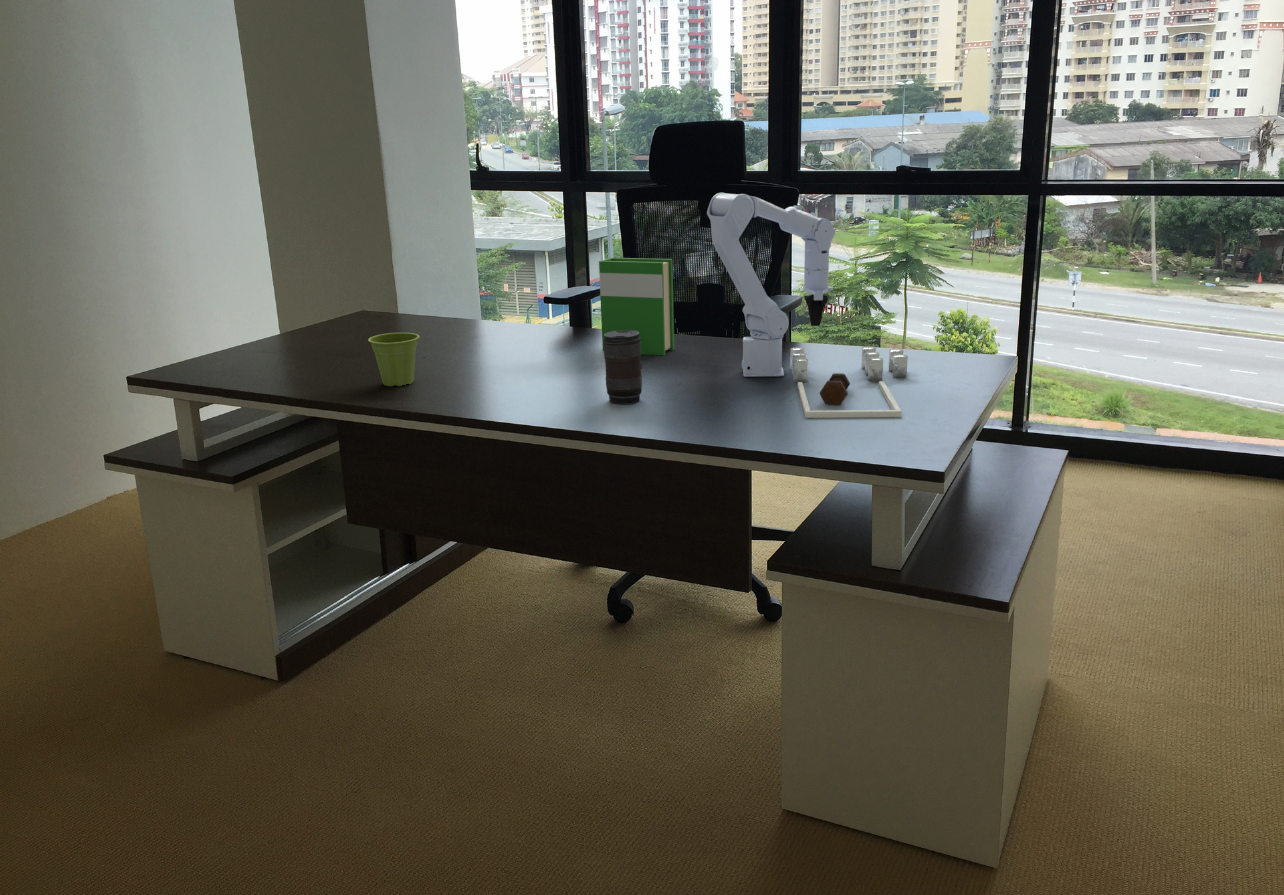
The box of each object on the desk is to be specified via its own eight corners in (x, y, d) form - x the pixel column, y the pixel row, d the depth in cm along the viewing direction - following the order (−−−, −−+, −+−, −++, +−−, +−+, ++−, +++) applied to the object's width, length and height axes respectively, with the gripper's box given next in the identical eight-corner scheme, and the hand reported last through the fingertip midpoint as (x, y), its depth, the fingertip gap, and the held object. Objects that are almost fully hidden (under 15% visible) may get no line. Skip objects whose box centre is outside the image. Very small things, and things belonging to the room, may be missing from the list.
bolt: (843, 396, 230) (836, 411, 216) (823, 384, 230) (815, 399, 216) (857, 374, 228) (850, 388, 214) (837, 362, 228) (830, 376, 214)
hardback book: (674, 349, 274) (672, 259, 267) (664, 355, 267) (661, 262, 260) (614, 346, 280) (610, 257, 273) (602, 351, 274) (598, 261, 267)
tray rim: (805, 417, 207) (805, 411, 207) (797, 387, 231) (797, 382, 230) (901, 417, 205) (901, 411, 205) (883, 386, 229) (883, 381, 229)
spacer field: (793, 382, 235) (794, 361, 234) (789, 367, 249) (790, 347, 248) (909, 381, 233) (911, 360, 231) (899, 366, 247) (900, 346, 246)
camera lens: (606, 396, 228) (604, 329, 224) (643, 395, 228) (641, 329, 223) (604, 405, 221) (601, 337, 216) (642, 405, 220) (640, 336, 216)
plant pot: (363, 388, 243) (357, 341, 239) (391, 376, 253) (386, 331, 250) (406, 391, 239) (401, 343, 235) (433, 379, 249) (428, 333, 246)
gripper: (836, 272, 237) (834, 330, 241) (830, 264, 251) (829, 319, 255) (805, 273, 238) (804, 331, 242) (801, 265, 251) (800, 319, 255)
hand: (815, 325), depth 248 cm, fingers closed
